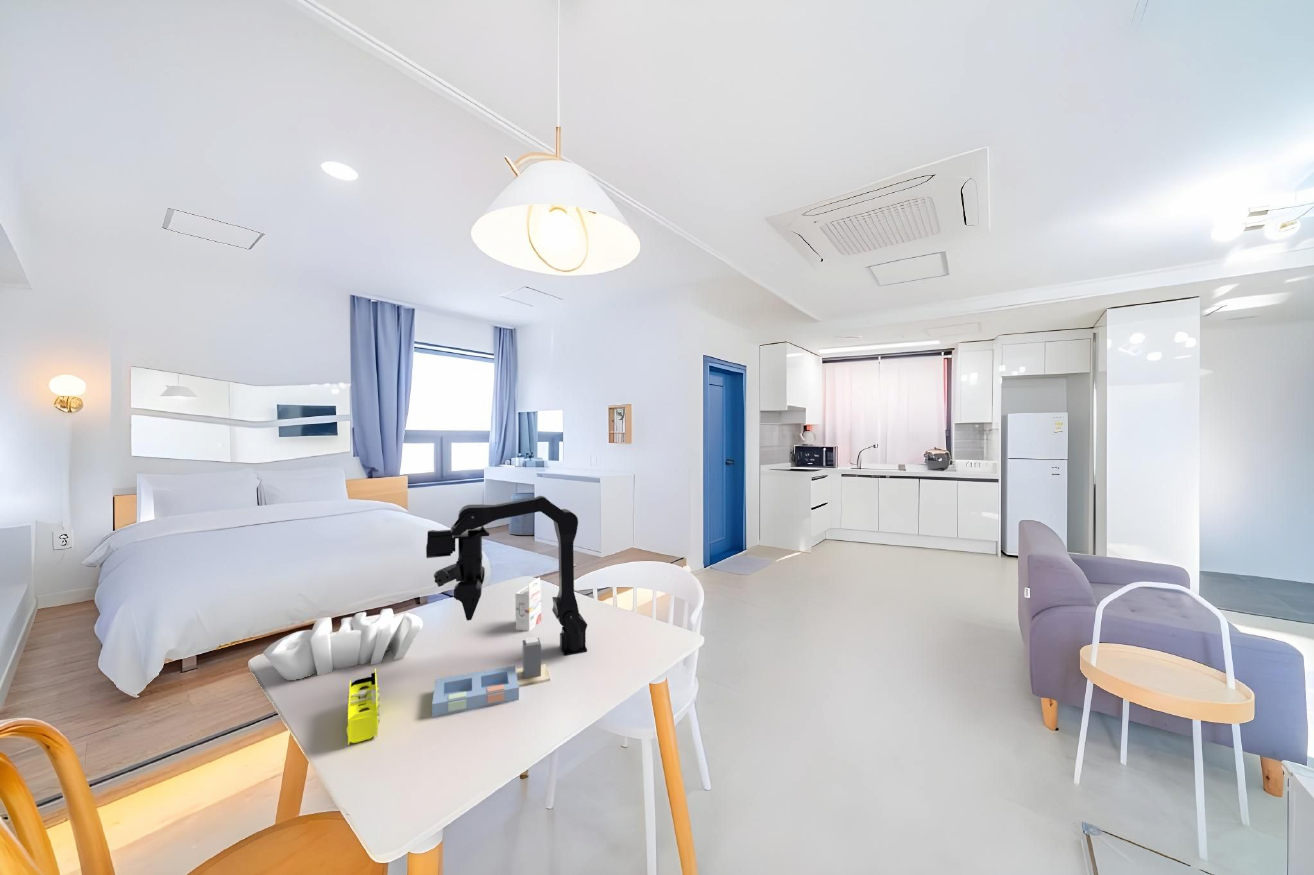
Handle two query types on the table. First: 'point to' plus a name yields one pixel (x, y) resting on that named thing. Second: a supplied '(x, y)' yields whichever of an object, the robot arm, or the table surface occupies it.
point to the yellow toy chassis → (363, 709)
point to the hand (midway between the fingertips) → (470, 613)
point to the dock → (474, 690)
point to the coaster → (535, 680)
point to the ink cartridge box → (528, 606)
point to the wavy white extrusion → (343, 643)
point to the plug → (531, 657)
